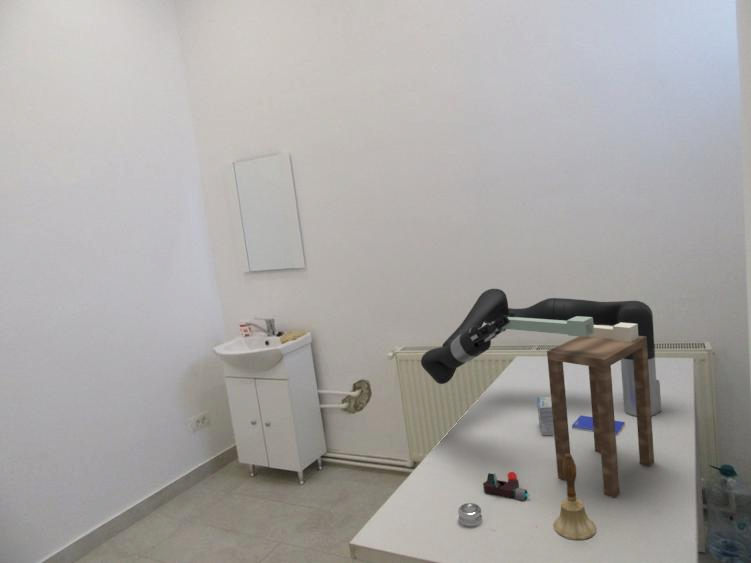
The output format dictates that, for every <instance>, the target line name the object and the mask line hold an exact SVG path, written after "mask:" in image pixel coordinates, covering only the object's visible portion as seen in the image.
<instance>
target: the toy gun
mask: <svg viewBox="0 0 751 563" xmlns="http://www.w3.org/2000/svg"><path fill="white" fill-rule="evenodd" d="M507 479H508V481H505V480H500V479H499V480H498V478H497V474H496V473H488V474H487V479H486V480H485V481H483V483H482V485H483V492H484V494H487V495H492V496H498V497H502V498H507V499H516V500H519V501H526V498H528V497H531V495H529V494H528V489H525V488H521V487H520V484H519V480H518V478H517V474H516V473H515V472H514V471H509V472H508V473H507Z"/></svg>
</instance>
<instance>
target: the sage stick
mask: <svg viewBox="0 0 751 563" xmlns="http://www.w3.org/2000/svg"><path fill="white" fill-rule="evenodd" d="M508 320H509V323H508V324H506V325H505V326H503V327H502V329H506V330H515V331H525V332H536V333H537V332H538V333H547V334H560V335H561V334H562V335H568V336H571V337H586V336H588V335H590V334H592V333H594V324H593V317H581V316H576V317H573V318H571V319H569V320H567V321H564V320H549V319H535V318H520V317H508Z"/></svg>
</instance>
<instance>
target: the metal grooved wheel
mask: <svg viewBox="0 0 751 563" xmlns="http://www.w3.org/2000/svg"><path fill="white" fill-rule="evenodd" d="M457 510H458V511H457V512H458V513H457V514H458V521H459V524H460V525H461V526H463V527H466V528H475V527H478V526H480V525H481V524H482V522H483V516H482V509H481V507H480V505H478V504H476V503H473V502H467V503H463V504H461V505H460V506H459V507H458V509H457Z"/></svg>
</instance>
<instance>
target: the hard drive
mask: <svg viewBox="0 0 751 563" xmlns="http://www.w3.org/2000/svg"><path fill="white" fill-rule="evenodd" d="M625 425H626V422H625V421H620V420H615V433H616V437H618V436H619V434H620V433H621V432H622V430H623V428H624V427H625ZM623 426H624V427H623ZM571 429H572V430H577V431H583V432H590V433H594V431H593V418H592V416H586V415H581V414H580V415H579V417H578V418H577V419H576V420H575V421H574V422H573V424H572V425H571Z"/></svg>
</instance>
